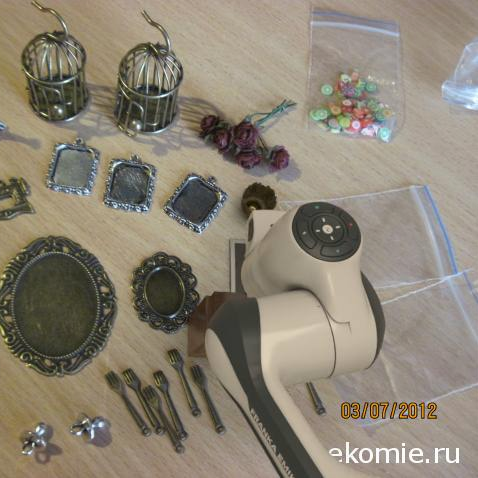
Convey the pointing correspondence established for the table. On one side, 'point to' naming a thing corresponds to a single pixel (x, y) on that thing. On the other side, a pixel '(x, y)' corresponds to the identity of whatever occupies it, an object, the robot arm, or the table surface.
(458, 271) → the table surface
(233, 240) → the tablet
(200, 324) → the pen stand
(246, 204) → the cup
